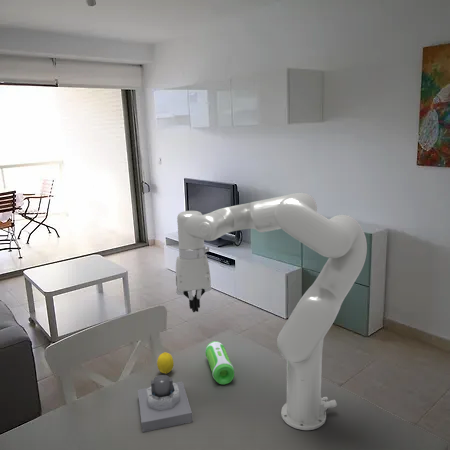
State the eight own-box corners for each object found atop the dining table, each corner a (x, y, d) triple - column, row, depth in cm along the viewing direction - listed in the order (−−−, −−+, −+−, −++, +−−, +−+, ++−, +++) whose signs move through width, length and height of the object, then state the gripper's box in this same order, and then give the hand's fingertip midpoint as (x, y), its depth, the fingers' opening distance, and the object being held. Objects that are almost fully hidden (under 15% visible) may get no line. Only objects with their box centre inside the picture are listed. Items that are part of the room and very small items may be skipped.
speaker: (204, 360, 153) (203, 340, 152) (224, 357, 155) (223, 338, 153) (213, 387, 137) (213, 366, 135) (235, 384, 138) (235, 363, 136)
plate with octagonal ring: (183, 389, 136) (182, 381, 135) (192, 422, 121) (191, 412, 120) (138, 398, 132) (137, 389, 132) (142, 432, 117) (141, 422, 116)
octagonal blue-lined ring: (176, 389, 131) (175, 379, 130) (181, 406, 123) (180, 396, 122) (146, 394, 129) (146, 384, 128) (149, 413, 120) (148, 402, 120)
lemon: (175, 369, 148) (174, 348, 146) (172, 378, 142) (170, 357, 140) (160, 369, 148) (158, 348, 146) (156, 378, 143) (154, 356, 141)
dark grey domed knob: (173, 394, 128) (171, 373, 127) (174, 403, 124) (172, 382, 122) (152, 397, 127) (150, 376, 126) (152, 406, 123) (150, 385, 121)
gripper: (213, 247, 132) (215, 302, 135) (165, 252, 128) (168, 308, 132) (219, 253, 124) (221, 311, 128) (168, 258, 121) (172, 318, 125)
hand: (194, 310), depth 130 cm, fingers closed
